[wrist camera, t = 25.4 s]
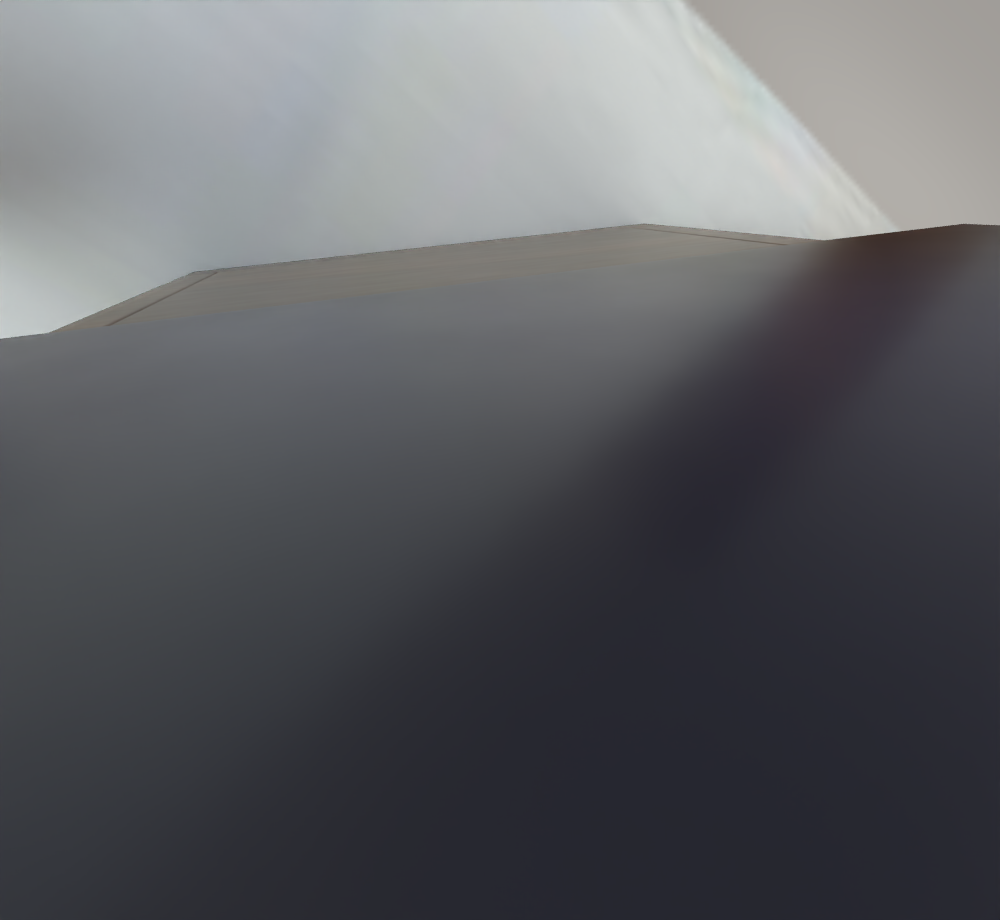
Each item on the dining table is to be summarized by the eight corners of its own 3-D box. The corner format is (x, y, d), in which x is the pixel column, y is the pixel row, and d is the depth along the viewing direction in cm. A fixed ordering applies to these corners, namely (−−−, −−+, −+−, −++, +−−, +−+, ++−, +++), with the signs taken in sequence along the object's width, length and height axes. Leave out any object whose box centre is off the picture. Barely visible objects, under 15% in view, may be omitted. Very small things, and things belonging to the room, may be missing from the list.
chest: (630, 615, 25) (769, 839, 16) (327, 684, 23) (301, 985, 14) (645, 223, 17) (927, 249, 8) (191, 271, 15) (-52, 373, 6)
